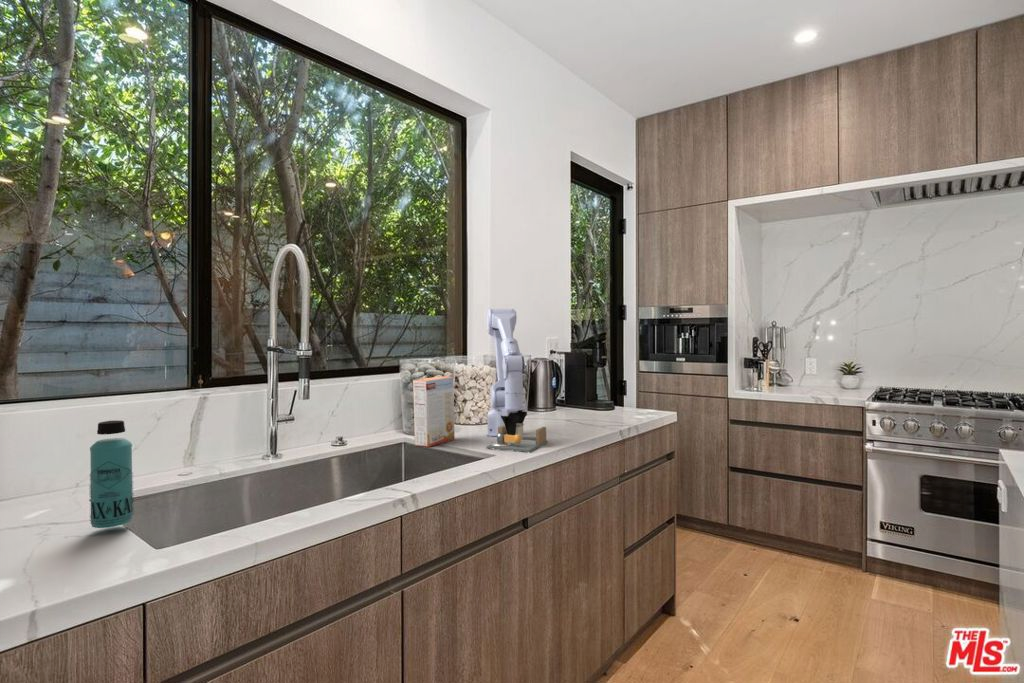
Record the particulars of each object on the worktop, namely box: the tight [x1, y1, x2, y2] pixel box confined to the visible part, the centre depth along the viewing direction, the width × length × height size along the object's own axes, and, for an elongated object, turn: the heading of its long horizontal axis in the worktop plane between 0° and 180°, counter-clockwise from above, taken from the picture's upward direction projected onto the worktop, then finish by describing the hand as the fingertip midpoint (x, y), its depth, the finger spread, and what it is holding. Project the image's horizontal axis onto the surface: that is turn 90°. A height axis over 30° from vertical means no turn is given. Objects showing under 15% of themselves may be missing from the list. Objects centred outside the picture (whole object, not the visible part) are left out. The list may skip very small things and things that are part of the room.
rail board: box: [486, 425, 548, 453], centre depth 172 cm, size 14×15×5 cm
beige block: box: [515, 423, 525, 440], centre depth 177 cm, size 4×4×5 cm
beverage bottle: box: [88, 420, 135, 529], centre depth 101 cm, size 6×7×20 cm
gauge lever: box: [504, 434, 521, 444], centre depth 168 cm, size 6×2×2 cm, turn 53°
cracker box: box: [412, 375, 455, 448], centre depth 179 cm, size 14×6×21 cm, turn 149°
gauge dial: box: [490, 433, 511, 447], centre depth 171 cm, size 6×6×3 cm
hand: (514, 435), depth 177 cm, fingers closed on beige block, 4 cm apart
